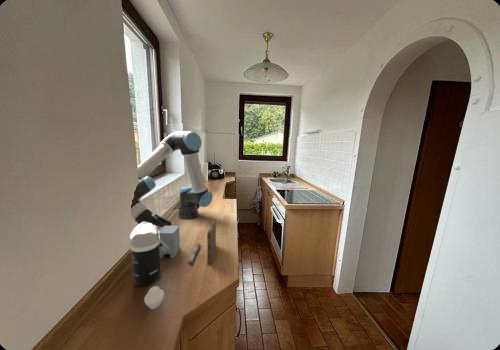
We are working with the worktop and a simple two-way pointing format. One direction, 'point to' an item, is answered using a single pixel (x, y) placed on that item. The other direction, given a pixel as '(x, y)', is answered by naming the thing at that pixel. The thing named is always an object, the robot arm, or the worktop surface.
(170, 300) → the worktop surface
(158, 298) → the white rock
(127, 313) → the worktop surface
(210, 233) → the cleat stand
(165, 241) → the mini cabinet
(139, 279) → the black white bottle
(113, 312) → the worktop surface
